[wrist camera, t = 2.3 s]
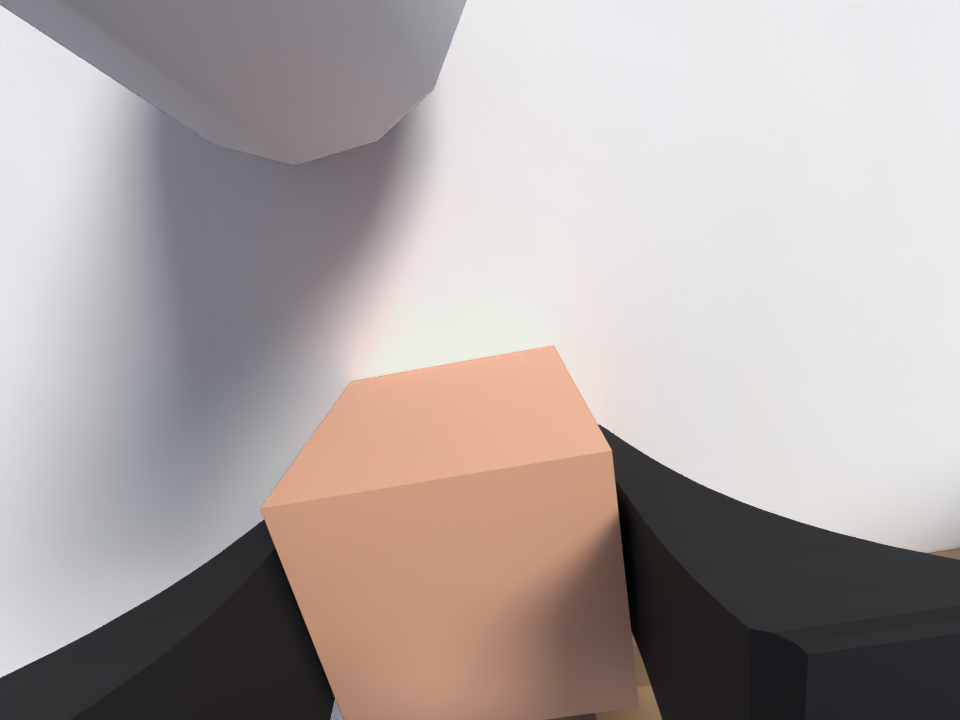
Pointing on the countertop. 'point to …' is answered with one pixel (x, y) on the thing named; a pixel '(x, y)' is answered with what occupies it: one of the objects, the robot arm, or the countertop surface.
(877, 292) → the countertop surface
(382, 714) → the cube
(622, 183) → the countertop surface
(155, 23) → the salt shaker
